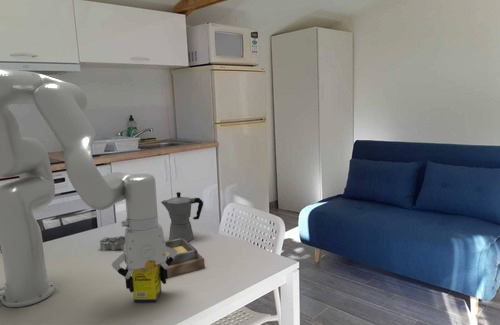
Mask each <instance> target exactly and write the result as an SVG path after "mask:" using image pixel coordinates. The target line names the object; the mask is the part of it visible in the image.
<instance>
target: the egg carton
mask: <svg viewBox="0 0 500 325" xmlns="http://www.w3.org/2000/svg"><path fill="white" fill-rule="evenodd" d="M124 237H125V235H120V236H113V237H109V236H106V237H104V238H101V239H100V240H98V242H99V244H100V246H99V247H100V250H102V251H108V250H111V251H116V250H120V251H124Z"/></svg>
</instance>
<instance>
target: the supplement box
mask: <svg viewBox="0 0 500 325" xmlns="http://www.w3.org/2000/svg"><path fill="white" fill-rule="evenodd" d="M131 276H132V278H133V289H134V292H132V294H133V302H134V303H156V302H157V300H158V297H159V295H160V294H161V292H162V281H161V275H160V264H159V265H156V264H155V261H150V262H146V263H145V267H144V268H142V269H138V270H134V271H133V273H132V275H131Z"/></svg>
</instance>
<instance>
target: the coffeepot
mask: <svg viewBox="0 0 500 325" xmlns="http://www.w3.org/2000/svg"><path fill="white" fill-rule="evenodd" d="M175 194H176V197H172V198H169V199H164V200H162V201H161V202H160V203H161V204H162V205H163V206H164V208H165V209H166V210H167V212H168V216H169V218H170V226H169V227H170V228H169V236H168V241H170V240H174V239H179V238H184V239H185V240H186V241H188V242H189V243H190V242H191V241H192V240H193V239H194V238H195V236H194V231H193V226H192V223H191V221H190V218H191V212H192V204H197V203H198V205H197V210H196V216H193V217H192V219H193V220H199V219H200V216H201V213H202V209H203V206H204V201H203V200H202V199H201V198H200V197H188V196H181V194H182V193H181V192H180V191H178V192H176V193H175Z"/></svg>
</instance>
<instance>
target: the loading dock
mask: <svg viewBox="0 0 500 325" xmlns="http://www.w3.org/2000/svg"><path fill="white" fill-rule="evenodd" d="M165 245H166V246H169V247H171V248H173V249H175V250H176V251H177V253H176V255H175V257H174V258H173V261H172V262H171V264H170V265H169V268H168V269H167V276H168V279H169V278H173V277H176V276H179V275H184V274H187V273H191V272H194V271H198V270H202V269H205V267H206V266H205V264H206V263H205V258H204V257H203V256H202V255H201V254H200V253H199V252H198V250H197V249H196V248H195V247H194V246H193V245H192V244H191V243H190V241H189V242H188V241H186V240H185V239H184V238H179V239H174V240H167V241H166V240H165ZM166 252H167V251H166ZM169 254H170V253H169V252H167V257H168V256H169ZM160 266H161V264H160Z"/></svg>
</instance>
